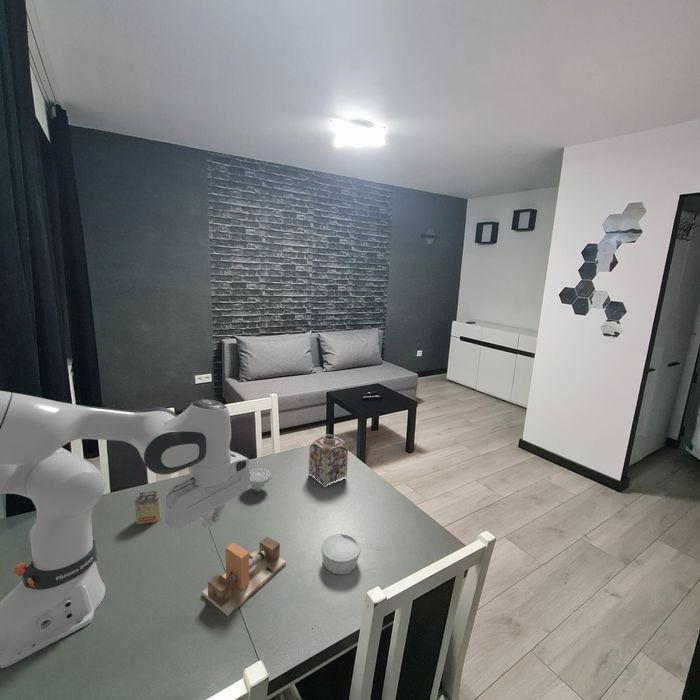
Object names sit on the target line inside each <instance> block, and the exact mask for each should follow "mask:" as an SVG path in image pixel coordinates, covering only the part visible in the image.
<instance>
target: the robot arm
mask: <svg viewBox="0 0 700 700" xmlns="http://www.w3.org/2000/svg"><path fill="white" fill-rule="evenodd" d="M231 423H232V422H231V415H230V411H229V409H228V407H227V406H226V405H225V404H223V403H222V402H221V401H218V400H215V399H214V400H213V399H205V398H204V399H203V398H202V399H197V400H194V401H192V402H191V403H190V405H189V406H188V407H187V408H186V409H184V410H183V411H182V412H181V413H180V414H178V415H177V414H176V413H175V412H174V411H173V410H171V409H169V408H166V407H162V406H161V407H160V406H155V407H148V408H144V409H138V410H137V409H136V410H130V409H129V410H127V409H126V410H125V409H118V408H110V407H109V408H108V407H102V406H101V407H99V406H91V405H83V404H81V405H80V404H74V403H69V402H62V401H56V400H52V399H49V398H48V399H47V398H43V397H40V396H39V397H38V396H33V395H28V394H23V393H17V392H10V391H4V390H0V495H2V494H3V495H6V494H10V495H11V494H12V495H13V494H14V495H19V496H22V497H26V498H28V499H29V500H31V502H32V503H33V505H34V506H35V509H36V519H35V523H34V524H33V525H32V526H31V528H30V531H29V540H30V548H31V550H30V551H31V555H32V556H31V557H32V558H31V559H32V560H31V562H30V564H29V565H28V566H27V564H26V563H24V562H20V563H18V564H17V565H16V566H15V567H14V569H13V571H14V572H15V574H16V575H17V577H22V580H21V581H20V582H19V583H18V584H17V586H15V587H14V588H13V589H12V590H11V591H10V592H9V593H8V594H7V595H6V596H5V597H4V598H3V599H2V600H1V601H0V667H1V668H0V669H5V668H8V667H10V666H11V665H14V664H16V663H18V662H19V661H21V660H22V659H25V658H27V657H29V656H31V655H33V654H35V653H36V652H38V651H40V650H41V649H42V650H43V649H44V648H46V647H47V646H49V645H52V644H54V643H56V642H57V641H59V640H61V639H63V638H65V637H66V636H69V635H71V634H72V633H75V632H76V631H78V630H80V629H82V628H84V627H85V626H87V625H90V623H91V622H92V620H93V618H94V616H95V615H94V614H95V612H96V610H97V608H98V607H99V605H100V604H101V603H102V601H103V600H104V597H105V594H106V589H107V588H106V585H105V583H104V581H103V580H102V578H101V576H100V573H99V569H98V566H97V561H98V550H97V545H96V541H95V539H94V537H93V536H94V535H93V527H92V524H93V523H92V515H93V514H92V513H93V508H94V507H95V506H96V505H97V503H98V502H99V501H100V500H101V499H102V496H103V494H104V492H105V490H106V489H105V488H106V480H105V478H104V476H103V475H102V473H101V472H100V471H99V470H98V468H97V467H96V466H95V465H94V464H92V462H89V461H87V460H86V459H84V458H83V457H80V456H78V455H77V454H74V453H73V452H71V451H69V450H67V449H66V448H64V447H63V446H65V445H67V444H68V443H70V442H71V443H72V442H73V441H77V440H100V441H121V442H125V443H128V444H130V445H131V446H133V447H135V448H136V449H137V452H138V453H139V455H140V458H141V459H142V461H143V463H144V464H145V466H146V468H147V469H148V470H149V471H151V472H152V473H154V474H157V475H172V474H175V473H178V472H181V471H182V470H185V469H189V470H188V471H189V472H188V473H189V478H188V479H186V480H185V481H183V482H181V483H178V484H175V485H174V486H172V488H171V489H170V490H169V491H168V493H167V494H166V495H165V513H164V516H165V517H164V521H165V524H166V525H167V526H168V527H170V528H171V529H173V530H175V531H179V530H181V529H182V528H184V527H185V526H187V525H189V524H191V523H192V522H194V521H197V519H199V518H200V519H201V524H202V527H203V528H204V529H208V528H210V527H211V526H213V524H217V523H218V522H220V521H221V515H222V512H223V510H224V508H225V503H227V502H229V501H231V500H233V499H234V498H236V497H238V496H240V495H241V494H243V493H244V492H247V490H248V489H249V488H250V485H251V484H250V471H251V470H250V467H249V464H250V459H249V458H248V457H246V456H244V455H242V454H240V453H238V452H235V451H232V450H231V449H230V448H231V447H230V444H231V441H232V427H231V426H232V425H231ZM211 511H213V512H212V513H211V514H210V515H209V513H210V512H211ZM209 516H210V517H209ZM4 667H5V668H4Z"/></svg>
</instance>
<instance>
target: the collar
mask: <svg viewBox="0 0 700 700" xmlns="http://www.w3.org/2000/svg"><path fill="white" fill-rule="evenodd" d="M249 555H250V551H247V550H246V549H245V548H244V547H242V546H241V545H239V544H237V543H235V542H234V541H233V542H232V543H231V544H229V545H227V546H226V547H225V573H226V579H227V578H228V577H229V576H231V575H232V574H233V573H234V574H235V575H237V580H236V581H235V582H234V583H232V584H233V585H234V586H235V587H237V588H238V589H239V590H241V591H242V590H243V589H244V588H245V587H247V586H248V585H249Z"/></svg>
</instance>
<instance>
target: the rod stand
mask: <svg viewBox="0 0 700 700" xmlns="http://www.w3.org/2000/svg"><path fill="white" fill-rule="evenodd" d="M280 548H281V544H280V543H279V542H278V541H277V540H275V539H274V538H271V537H270V536H268V535H266V536H265V537H264V538H263V539H262V540H260V541H259V547H257V548H256V549H254V550H253V551H252V552H251V553H249V585H248V586H247V587H245V588H244V589H243V590H242V591H241V590H239V589H238V588H237V587H235V586H234V585H233V584H232V583H234V582H235V581H236V580H237V575H235V574H234V573H233V574H232V575H231V576H229V577H228V578H227V579H226V572H225V573H224V574H223V575H221V573H216V574H215V575H214V576H212V577H211V578H210V579H209V580H208V581H207V587H206V588H205V589H203V590H201V595H202V596H203V597H204V598H206V600H208V602H210V603H211V604H213V606H215V607H216V608H217V609H218V610H220V611H221V612H222V613H224V614H225V616H227V617H229V616H230V615H231V614H232V613H234V612H235V610H237V609H238V608H239V607H240V606H241V605H242V604H244V603H245V602H246V601H247V600H248V599H249V598H250V597H251V596H253V594H254V593H256V592H257V591H258V590H259V589H261V587H263V586H264V585H265V584H266V583H267V582H268V581H269V580H270V579H271V578H272V577H273V576H274V575H276V574H277V573H278V572H279V571H280V570H281V569H282V568H283V567H284V566H286V564H287V561H286V560H285V559H283V558H282V557H281V555H280V550H281V549H280Z"/></svg>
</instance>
